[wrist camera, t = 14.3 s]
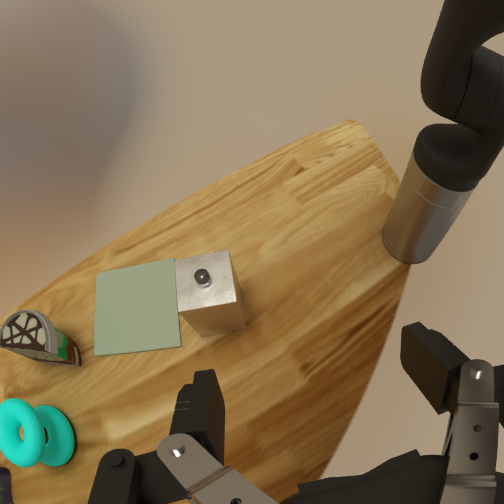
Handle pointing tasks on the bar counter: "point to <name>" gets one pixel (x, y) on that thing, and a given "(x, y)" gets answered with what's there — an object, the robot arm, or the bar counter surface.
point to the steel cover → (210, 294)
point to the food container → (38, 339)
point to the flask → (5, 486)
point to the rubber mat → (137, 309)
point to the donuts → (34, 434)
